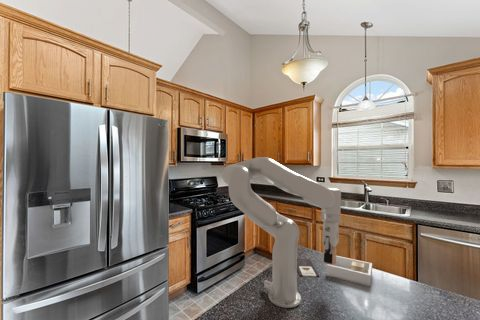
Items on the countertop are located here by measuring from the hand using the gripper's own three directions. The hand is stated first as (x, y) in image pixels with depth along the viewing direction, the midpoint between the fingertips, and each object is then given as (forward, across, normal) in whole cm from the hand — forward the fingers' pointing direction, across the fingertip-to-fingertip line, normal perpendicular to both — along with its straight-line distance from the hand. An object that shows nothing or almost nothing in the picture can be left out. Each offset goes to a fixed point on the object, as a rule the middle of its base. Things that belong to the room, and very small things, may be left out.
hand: (329, 259), depth 96 cm
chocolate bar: (+13, +14, +14) cm, 24 cm away
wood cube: (+11, +19, -9) cm, 24 cm away
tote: (+12, +19, -6) cm, 23 cm away
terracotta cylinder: (+1, 0, 0) cm, 1 cm away
